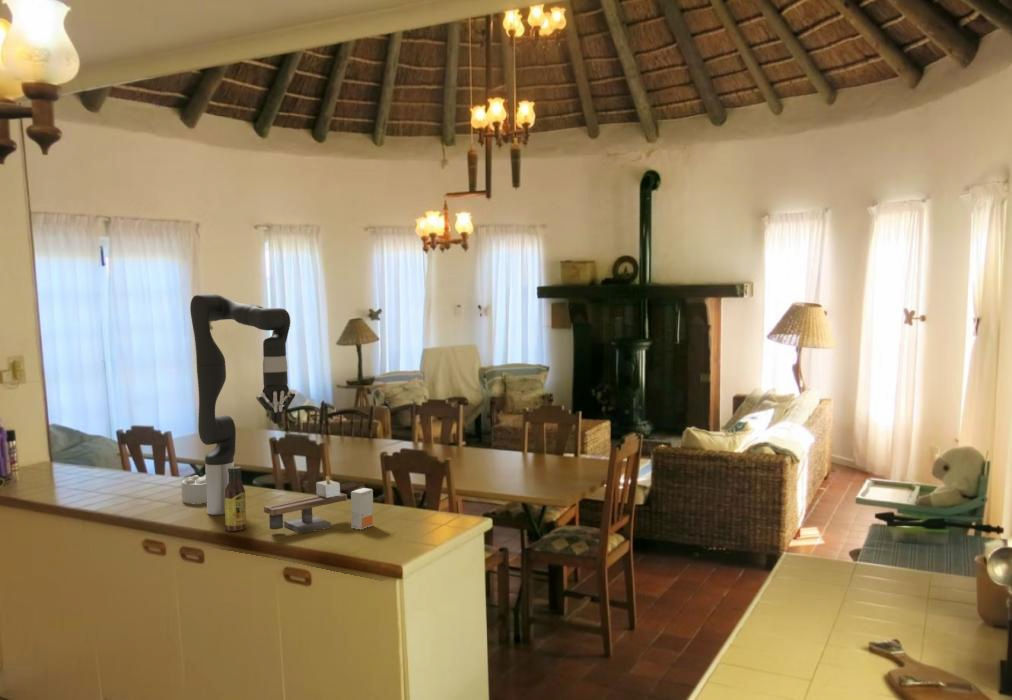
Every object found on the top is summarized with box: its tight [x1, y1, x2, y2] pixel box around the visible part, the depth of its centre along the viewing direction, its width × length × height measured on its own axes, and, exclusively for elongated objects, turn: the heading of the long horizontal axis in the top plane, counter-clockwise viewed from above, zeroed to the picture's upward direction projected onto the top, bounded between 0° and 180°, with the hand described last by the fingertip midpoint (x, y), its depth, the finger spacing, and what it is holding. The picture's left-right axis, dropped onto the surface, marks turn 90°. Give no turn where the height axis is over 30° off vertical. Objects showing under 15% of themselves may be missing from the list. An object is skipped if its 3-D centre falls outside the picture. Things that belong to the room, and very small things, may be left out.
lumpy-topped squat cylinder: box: [181, 474, 207, 505], centre depth 280 cm, size 10×13×9 cm
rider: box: [315, 475, 341, 498], centre depth 248 cm, size 6×5×8 cm
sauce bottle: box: [224, 466, 247, 532], centre depth 242 cm, size 6×6×20 cm
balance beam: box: [263, 492, 348, 535], centre depth 244 cm, size 12×26×9 cm, turn 133°
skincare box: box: [350, 487, 374, 531], centre depth 242 cm, size 6×4×12 cm
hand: (276, 423), depth 246 cm, fingers closed
